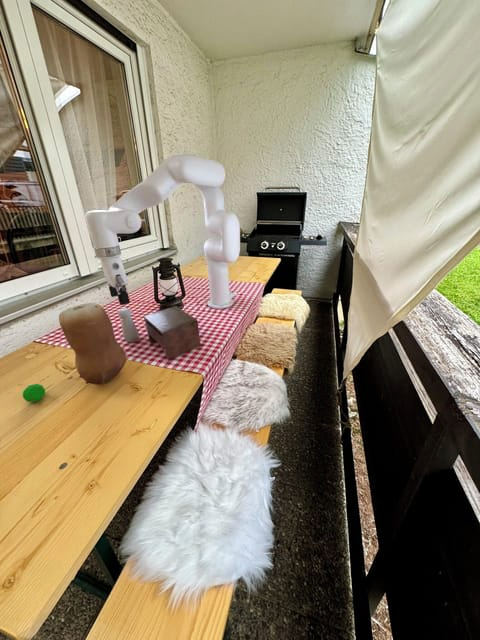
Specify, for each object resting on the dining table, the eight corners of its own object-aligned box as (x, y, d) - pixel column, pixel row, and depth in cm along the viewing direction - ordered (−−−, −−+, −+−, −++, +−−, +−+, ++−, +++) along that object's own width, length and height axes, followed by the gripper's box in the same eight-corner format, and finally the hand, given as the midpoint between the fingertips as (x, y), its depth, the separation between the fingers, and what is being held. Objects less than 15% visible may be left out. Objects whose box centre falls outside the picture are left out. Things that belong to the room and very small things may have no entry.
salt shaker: (134, 344, 98) (126, 313, 91) (121, 343, 99) (112, 312, 92) (142, 336, 103) (135, 306, 96) (129, 335, 104) (121, 305, 97)
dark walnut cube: (179, 329, 106) (175, 305, 101) (200, 345, 95) (197, 319, 90) (149, 341, 99) (143, 316, 94) (168, 360, 88) (163, 333, 83)
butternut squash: (98, 363, 88) (73, 296, 76) (136, 363, 87) (117, 295, 75) (73, 393, 75) (39, 318, 63) (118, 393, 75) (92, 318, 63)
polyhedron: (24, 408, 71) (17, 395, 69) (29, 396, 75) (22, 383, 73) (46, 402, 73) (39, 389, 71) (49, 390, 77) (43, 378, 74)
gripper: (128, 254, 80) (139, 304, 88) (111, 245, 92) (122, 290, 100) (103, 258, 76) (117, 310, 84) (88, 249, 88) (102, 295, 96)
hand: (120, 299), depth 92 cm, fingers open, 9 cm apart
